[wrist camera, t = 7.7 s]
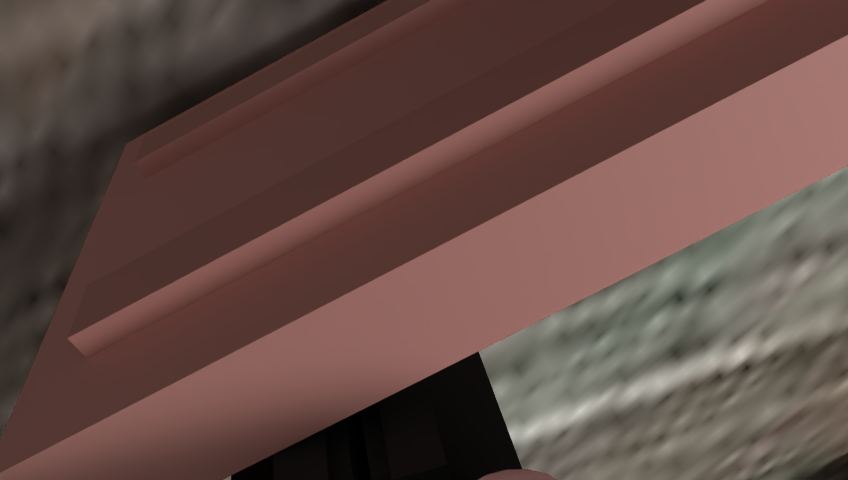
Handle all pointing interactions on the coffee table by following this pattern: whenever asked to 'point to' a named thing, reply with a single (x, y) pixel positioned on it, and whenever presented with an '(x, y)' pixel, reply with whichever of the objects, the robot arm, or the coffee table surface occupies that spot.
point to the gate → (410, 213)
